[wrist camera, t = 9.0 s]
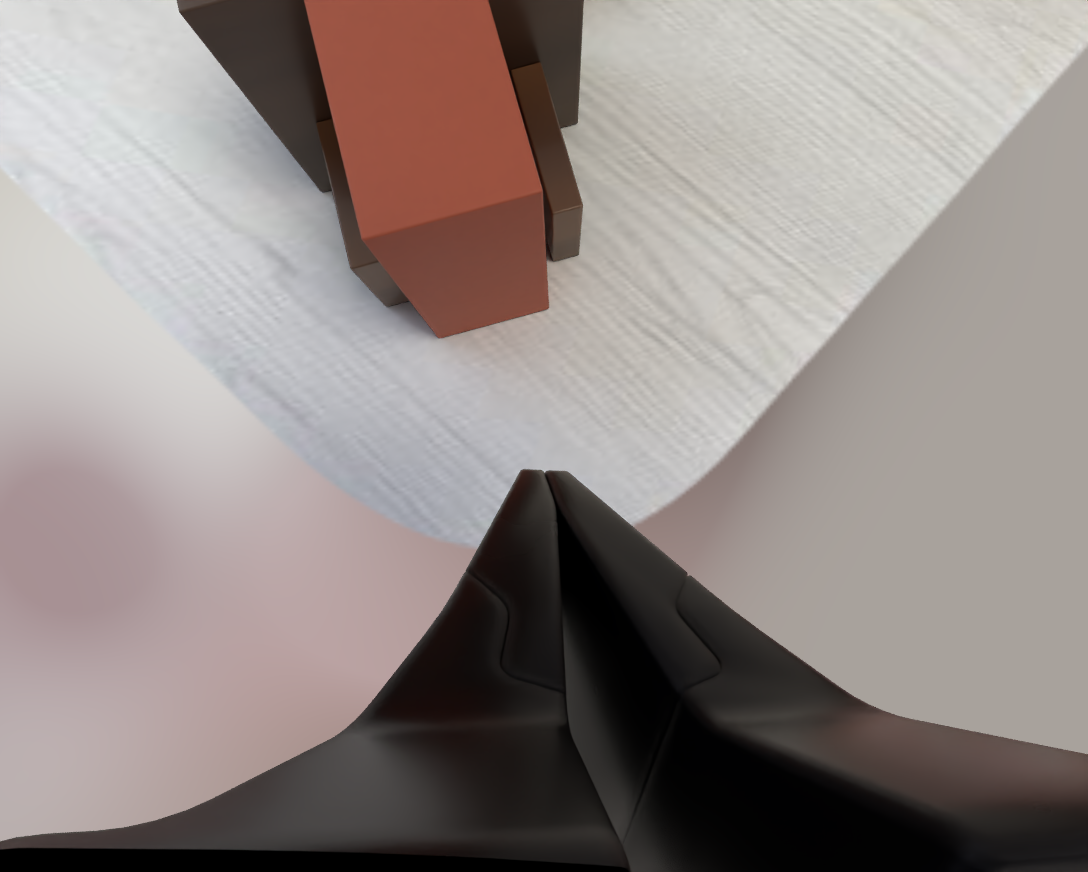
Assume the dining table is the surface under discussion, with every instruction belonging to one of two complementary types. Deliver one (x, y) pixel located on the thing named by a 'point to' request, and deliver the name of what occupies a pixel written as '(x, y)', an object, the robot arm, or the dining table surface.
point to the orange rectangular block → (436, 155)
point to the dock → (307, 126)
